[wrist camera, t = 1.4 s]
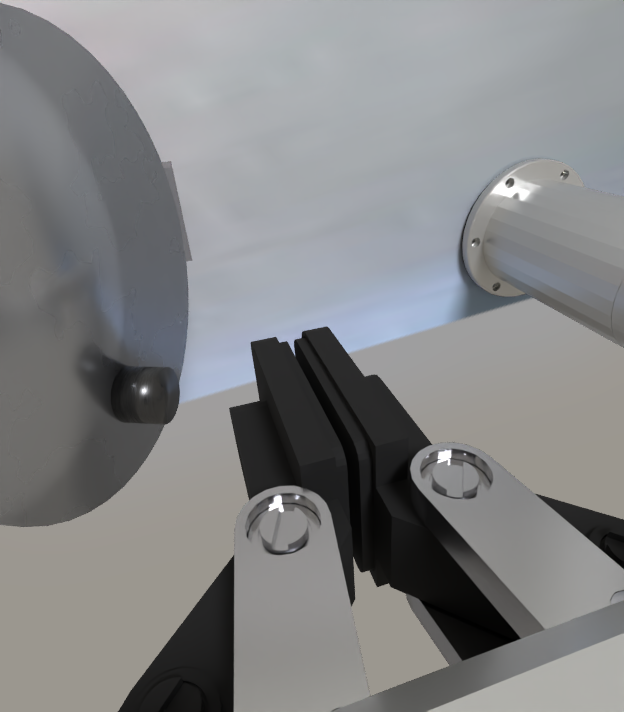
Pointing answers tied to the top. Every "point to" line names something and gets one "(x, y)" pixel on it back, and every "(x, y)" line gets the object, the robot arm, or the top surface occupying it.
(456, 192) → the top surface
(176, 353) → the cooker lid
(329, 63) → the top surface
